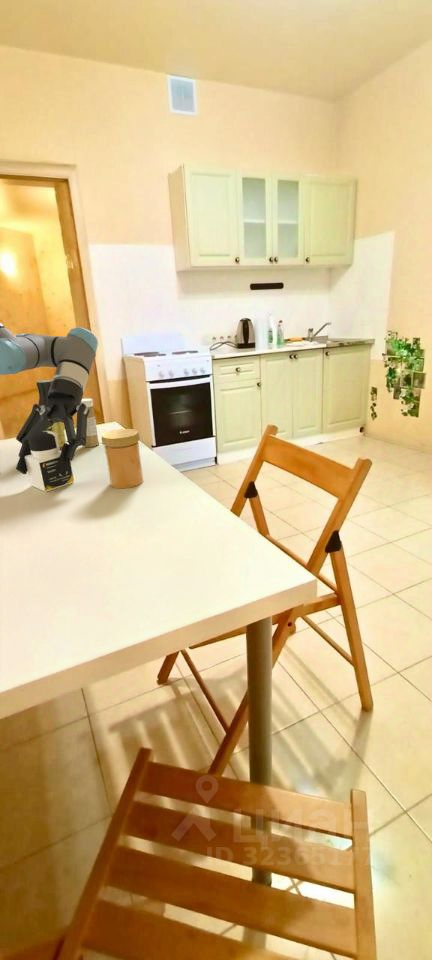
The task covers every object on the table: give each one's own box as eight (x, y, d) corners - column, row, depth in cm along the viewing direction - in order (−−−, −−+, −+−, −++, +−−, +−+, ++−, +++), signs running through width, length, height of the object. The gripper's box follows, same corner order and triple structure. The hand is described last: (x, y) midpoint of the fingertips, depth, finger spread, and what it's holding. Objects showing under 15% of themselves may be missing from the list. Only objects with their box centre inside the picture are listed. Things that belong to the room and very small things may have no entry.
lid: (146, 438, 98) (145, 430, 97) (122, 448, 91) (121, 439, 91) (119, 435, 102) (118, 427, 101) (94, 445, 95) (93, 436, 95)
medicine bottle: (45, 492, 97) (34, 439, 93) (30, 485, 102) (18, 434, 98) (74, 482, 102) (65, 431, 98) (59, 476, 107) (49, 427, 102)
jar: (103, 486, 99) (96, 440, 95) (125, 475, 104) (118, 431, 101) (129, 490, 95) (122, 442, 91) (149, 478, 101) (144, 433, 97)
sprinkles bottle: (81, 445, 132) (73, 399, 127) (96, 442, 134) (89, 397, 130) (86, 448, 129) (78, 401, 124) (101, 445, 131) (94, 399, 126)
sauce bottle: (40, 452, 127) (25, 382, 120) (58, 446, 132) (45, 378, 125) (54, 455, 124) (39, 383, 117) (72, 449, 129) (59, 379, 122)
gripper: (116, 395, 107) (93, 481, 98) (37, 396, 113) (9, 477, 104) (102, 375, 100) (76, 466, 91) (19, 378, 106) (-13, 463, 97)
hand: (40, 472), depth 98 cm, fingers closed on medicine bottle, 9 cm apart
